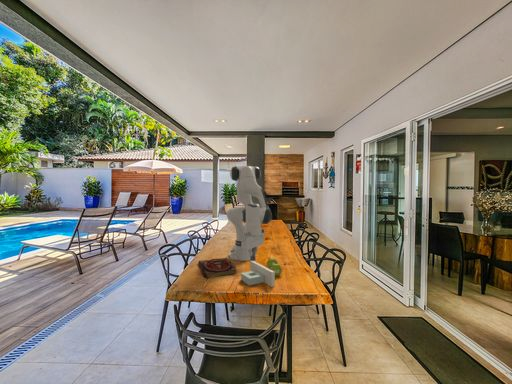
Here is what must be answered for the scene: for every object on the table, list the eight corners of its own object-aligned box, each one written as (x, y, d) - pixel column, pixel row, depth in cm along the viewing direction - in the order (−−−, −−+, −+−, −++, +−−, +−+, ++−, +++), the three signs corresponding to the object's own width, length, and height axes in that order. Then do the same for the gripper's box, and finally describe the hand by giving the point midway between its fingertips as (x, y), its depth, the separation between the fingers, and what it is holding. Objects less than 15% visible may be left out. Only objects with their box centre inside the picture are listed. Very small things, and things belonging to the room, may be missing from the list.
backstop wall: (250, 273, 160) (250, 261, 160) (253, 273, 161) (253, 260, 161) (271, 286, 140) (271, 272, 140) (274, 286, 141) (274, 271, 141)
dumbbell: (266, 268, 172) (266, 257, 171) (277, 268, 172) (277, 257, 172) (270, 277, 155) (270, 265, 155) (282, 276, 156) (282, 265, 156)
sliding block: (241, 279, 149) (241, 273, 149) (255, 276, 154) (255, 270, 154) (249, 285, 141) (249, 278, 140) (264, 282, 146) (264, 275, 146)
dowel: (249, 260, 146) (249, 248, 146) (251, 259, 149) (252, 247, 149) (253, 261, 145) (254, 249, 145) (256, 259, 148) (256, 248, 147)
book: (198, 265, 179) (198, 258, 179) (227, 261, 187) (227, 255, 186) (204, 279, 153) (204, 271, 153) (237, 274, 160) (237, 266, 160)
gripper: (248, 234, 136) (248, 260, 136) (265, 229, 154) (265, 251, 154) (238, 233, 139) (238, 258, 139) (256, 228, 157) (256, 250, 157)
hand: (252, 254), depth 147 cm, fingers closed on dowel, 3 cm apart
